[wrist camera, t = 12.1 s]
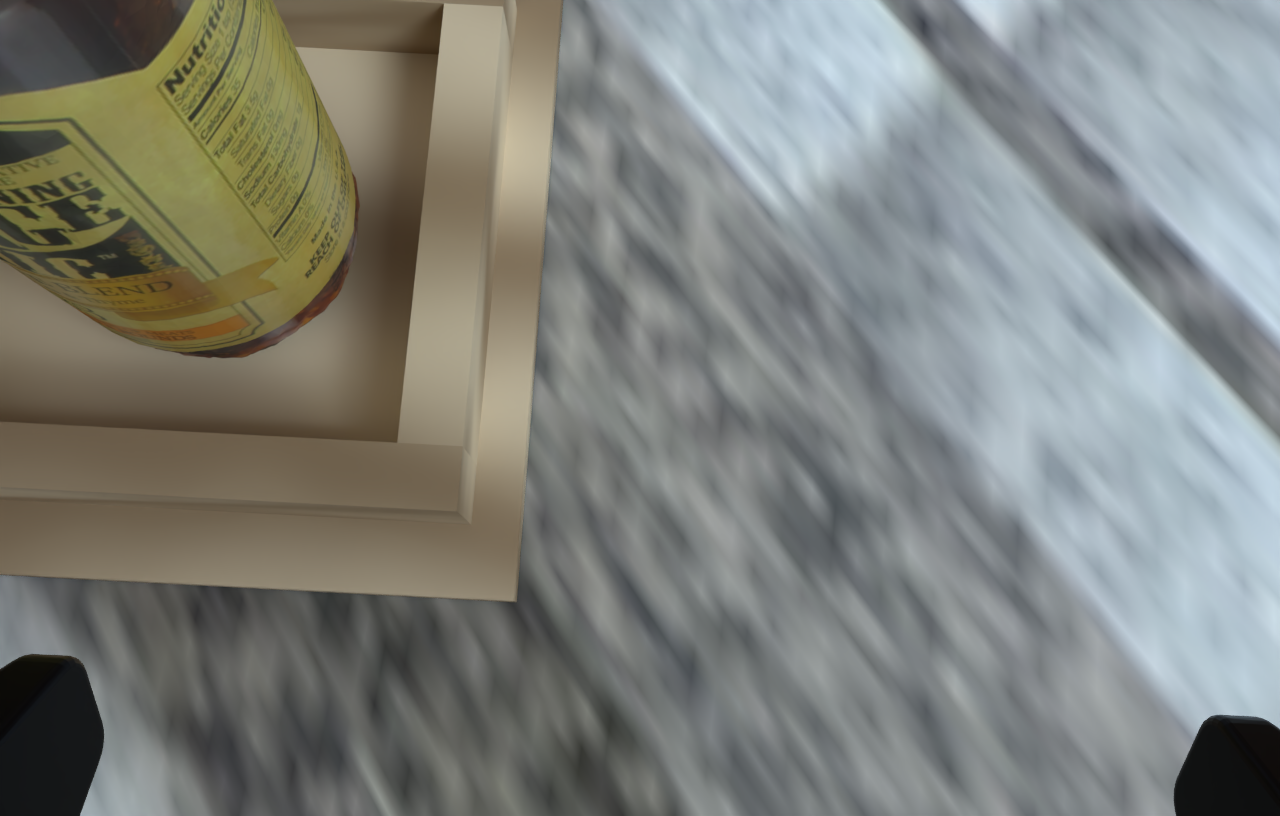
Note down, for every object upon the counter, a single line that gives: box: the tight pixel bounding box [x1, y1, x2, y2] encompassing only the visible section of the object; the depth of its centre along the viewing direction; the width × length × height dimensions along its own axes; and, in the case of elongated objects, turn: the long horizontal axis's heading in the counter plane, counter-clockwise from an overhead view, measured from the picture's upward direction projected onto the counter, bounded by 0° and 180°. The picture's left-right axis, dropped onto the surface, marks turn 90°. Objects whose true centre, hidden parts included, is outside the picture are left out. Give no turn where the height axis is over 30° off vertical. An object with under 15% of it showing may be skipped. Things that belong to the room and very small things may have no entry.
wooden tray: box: [0, 0, 563, 602], centre depth 23 cm, size 17×14×2 cm
